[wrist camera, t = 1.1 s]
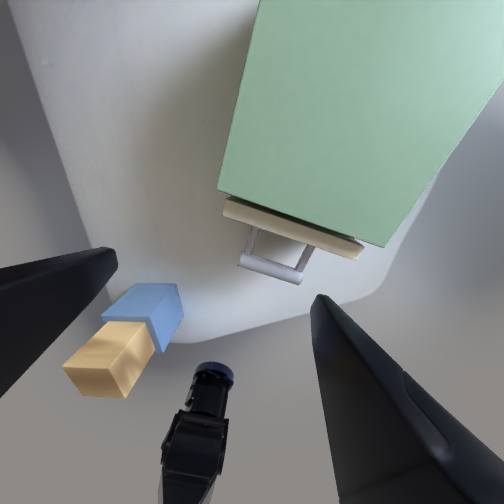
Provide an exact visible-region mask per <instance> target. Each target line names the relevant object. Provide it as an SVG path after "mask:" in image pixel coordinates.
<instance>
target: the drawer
mask: <svg viewBox="0 0 504 504" xmlns="http://www.w3.org/2000/svg"><path fill="white" fill-rule="evenodd" d="M222 216H225V217H228V218H231V219H234V220H237V221H240V222H243V223H246V224H249V225H252V226H253V227H252V230H251V233H250V236H249V238H248V241H247V244H246V247H245V250H244V252H243V251H242V252H241V255H240V258H239V261H238V264H237V266H240V267H243V268H246V269H249V270H252V271H255V272H258V273H262V274H265V275H268V276H271V277H274V278H277V279H280V280H283V281H287V282H290V283H293V284H296V285H299V284H300V283H301V282H302V279H303V270H304V268H305V266H306V264H307V262H308V260H309V258H310V256H311V254H312V252H313V251H314V249H315V247H317V248H320V249H322V250H325V251H328V252H331V253H334V254H337V255H340V256H343V257H346V258H349V259H352V260H355V261H356V260H357V258H358V257H359V255H360V254H361V252H362V251H363V249H364V248H365V247H364V246H363V245H362V244H360V243H359V242H358V241H356V240H355V239H354V238H353V237H350V236H347V235H345V234H342V233H339V232H336V231H333V230H330V229H327V228H325V227H322V226H319V225H316V224H313V223H310V222H307V221H304V220H302V219H299V218H296V217H293V216H290V215H287V214H284V213H282V212H279V211H276V210H273V209H270V208H267V207H264V206H262V205H259V204H256V203H253V202H250V201H247V200H244V199H241V198H239V197H236V196H233V195H231V196H229V197H228V198H227V199H226V200H225V204H224V208H223V212H222ZM260 228H261V229H264V230H267V231H269V232H272V233H275V234H278V235H281V236H284V237H287V238H290V239H293V240H296V241H299V242H302V243H305V244H307V245H306V247H305V249H304V251H303V253H302V255H301V257H300V259H299V261H298V263H297V265H296V267H295V268H292V267H289V266H286V265H283V264H280V263H277V262H274V261H271V260H268V259H264V258H261V257H258V256H255V255H252V254H251V251H252V248H253V246H254V243H255V240H256V237H257V235H258V232H259V229H260Z"/></svg>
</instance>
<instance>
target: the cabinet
mask: <svg viewBox="0 0 504 504" xmlns="http://www.w3.org/2000/svg"><path fill="white" fill-rule="evenodd" d="M503 79H504V0H260V1H259V5H258V10H257V14H256V18H255V22H254V27H253V31H252V35H251V40H250V44H249V48H248V53H247V57H246V61H245V66H244V70H243V74H242V79H241V83H240V87H239V92H238V96H237V100H236V105H235V109H234V113H233V118H232V122H231V126H230V131H229V135H228V139H227V144H226V148H225V152H224V157H223V161H222V165H221V170H220V174H219V178H218V182H217V187H216V190H219V191H221V192H224V193H227V194H230V195H233V196H236V197H239V198H241V199H244V200H247V201H250V202H253V203H256V204H259V205H262V206H264V207H267V208H270V209H273V210H276V211H279V212H282V213H284V214H287V215H290V216H293V217H296V218H299V219H302V220H304V221H307V222H310V223H313V224H316V225H319V226H322V227H325V228H327V229H330V230H333V231H336V232H339V233H342V234H345V235H347V236H350V237H353V238H356V239H359V240H362V241H365V242H367V243H370V244H373V245H376V246H379V247H382V248H385V246H386V245H387V244H388V242H389V241H390V239H391V238H392V237H393V235H394V234H395V232H396V231H397V229H398V228H399V227H400V225H401V224H402V222H403V221H404V220H405V218H406V217H407V215H408V214H409V212H410V211H411V210H412V208H413V207H414V205H415V204H416V203H417V201H418V200H419V198H420V197H421V196H422V194H423V193H424V191H425V190H426V188H427V187H428V186H429V184H430V183H431V181H432V180H433V179H434V177H435V176H436V174H437V173H438V171H439V170H440V169H441V167H442V166H443V164H444V163H445V162H446V160H447V159H448V157H449V156H450V155H451V153H452V152H453V150H454V149H455V147H456V146H457V145H458V143H459V142H460V140H461V139H462V138H463V136H464V135H465V133H466V132H467V130H468V129H469V128H470V126H471V125H472V123H473V122H474V120H475V119H476V118H477V116H478V115H479V113H480V112H481V111H482V109H483V108H484V106H485V105H486V104H487V102H488V101H489V99H490V98H491V96H492V95H493V94H494V92H495V91H496V89H497V88H498V86H499V85H500V84H501V82H502V81H503Z"/></svg>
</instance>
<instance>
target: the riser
mask: <svg viewBox="0 0 504 504" xmlns="http://www.w3.org/2000/svg"><path fill="white" fill-rule="evenodd" d="M183 316H184V314H183V311H182V307H181V303H180V299H179V295H178V291H177V287H176V284H135V285H134V286H133V287H132V288H131V289H130V290H129V291H128V292H126V293H125V294H124V295H123V296H122V297H121V298H120V299H119V300H117V301H116V302H115V303H114V304H113V305H112V306H111V307H110V308H108V309H107V310H106V311H105V312H104V313H103V314H102V315H101V316H100V317H101V319H102V321H103V322H104V325H105V324H106V323H107V322H108V321H123V322H145V323H146V325H147V328H148V331H149V333H150V336H151V339H152V341H153V344H154V347H155V351H154V352H153V353H163V352H164V351H165V349H166V347H167V345H168V343H169V342H170V340H171V338H172V336H173V334H174V333H175V331H176V329H177V327H178V325H179V324H180V322H181V320H182V318H183Z"/></svg>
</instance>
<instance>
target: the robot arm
mask: <svg viewBox="0 0 504 504" xmlns="http://www.w3.org/2000/svg"><path fill="white" fill-rule="evenodd" d="M117 268H118V261H117V256H116V252H115V250H114V249H112V248H107V247H99V248H95V249H90V250H85V251H81V252H76V253H72V254H66V255H62V256H57V257H52V258H47V259H43V260H38V261H33V262H29V263H24V264H19V265H15V266H10V267H5V268H0V398H1V397H2V396H3V395H4V394H5V392H7V391H8V389H9V388H10V387H11V386H12V385H13V384H14V383H15V382H16V381H17V380H18V379H19V378H20V377H21V376H22V375H23V374H24V373H25V371H26V370H27V369H28V368H29V367H30V366H31V365H32V364H33V363H34V362H35V361H36V360H37V359H38V358H39V357H40V356H41V354H43V352H44V351H45V350H46V349H47V348H48V347H49V346H50V345H51V344H52V343H53V342H54V341H55V340H56V339H57V338H58V337H59V336H60V334H61V333H62V332H63V331H64V330H65V329H66V328H67V327H68V326H69V325H70V324H71V323H72V322H73V321H74V320H75V319H76V318H77V317H78V315H79V314H80V313H81V312H82V311H83V310H84V309H85V308H86V307H87V306H88V305H89V304H90V303H91V301H92V300H93V299H94V298H95V297H96V296H97V295H98V293H99V292H100V291H101V289H102V288H103V287H104V286H105V284H106V283H107V282H108V280H109V279H110V278H111V277H112V275H113V274H114V273H115V271H116V270H117ZM310 316H311V332H312V345H313V352H314V357H315V363H316V369H317V375H318V381H319V387H320V392H321V398H322V404H323V409H324V416H325V421H326V427H327V433H328V439H329V444H330V450H331V456H332V462H333V467H334V473H335V479H336V485H337V491H338V496H339V498H340V499H339V503H340V504H504V462H503V461H502V460H501V459H500V458H499V457H498V456H497V455H496V454H494V452H492V451H491V450H490V449H489V448H488V447H487V446H486V445H485V444H483V443H482V442H481V441H480V440H479V439H478V438H477V437H476V436H474V435H473V434H472V433H471V432H470V431H469V430H468V429H467V428H465V427H464V426H463V425H462V424H461V423H460V422H459V421H458V420H456V419H455V418H454V417H453V416H452V415H451V414H450V413H449V412H448V411H447V410H446V409H444V408H443V407H442V406H441V405H440V404H439V403H438V402H437V401H436V400H435V399H434V398H433V397H432V396H430V395H429V394H428V393H427V392H426V391H425V390H424V389H423V388H422V387H421V386H420V385H419V384H418V383H417V382H416V381H415V380H414V379H413V378H412V377H411V376H410V375H409V374H408V373H407V372H405V371H403V369H402V368H401V367H400V366H399V365H398V364H397V363H396V362H395V361H394V360H393V359H392V358H391V357H390V356H389V355H388V354H387V353H386V352H385V351H384V350H383V349H382V348H381V347H380V346H379V345H378V344H377V343H376V342H375V341H374V340H373V339H372V338H371V337H370V336H368V334H367V333H366V332H365V331H364V330H363V329H361V328H360V327H359V326H358V325H357V324H356V323H355V322H354V321H353V320H352V319H351V318H350V317H349V316H348V315H347V314H346V313H345V312H344V311H343V310H342V309H341V308H340V307H339V306H338V305H337V304H336V303H335V302H334V301H333V300H332V299H331V298H330V297H329V296H327V295H322V294H318V295H317V296H316V298H315V300H314V302H313V304H312V306H311V309H310ZM233 384H234V381H232V380H230V379H228V378H226V377H224V376H222V375H220V374H218V373H216V372H213V371H211V370H209V369H204V370H203V372H202V373H201V374H200V375H198V376H197V377H196V378H195V379H194V380H193V381H192V384H191V387H190V390H189V393H188V395H187V398H186V402H185V406H187V408H186V411H183V410H181V409H180V410H179V412H178V413H177V414H175V416H174V419H173V422H172V424H171V427H170V429H169V431H168V433H167V435H166V437H165V439H164V441H163V443H162V446H161V450H162V458H161V465H163V467H162V471H161V477H160V483H159V489H158V504H209V503H210V501H211V497H212V493H213V488H214V485H215V481H216V476H217V475H221V472H222V467H223V461H224V456H225V449H226V440H227V432H228V424H229V419H224V416H225V410H226V404H227V398H228V392H229V388H230V387H231V386H233Z"/></svg>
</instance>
